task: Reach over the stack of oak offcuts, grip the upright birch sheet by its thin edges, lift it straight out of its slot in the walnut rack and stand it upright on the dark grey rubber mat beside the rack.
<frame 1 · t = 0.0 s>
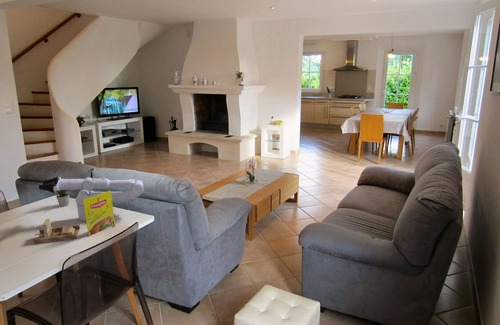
hand: (41, 184, 182), 22 cm above the table, tool horizontal, fingers open, 7 cm apart
oak offcut stack: (68, 234, 173), point 1 cm above the table, touching walnut rack
birch sheet: (48, 236, 171), point 1 cm above the table, touching walnut rack
grey rubber mat: (48, 229, 181), on the table
walnut rack: (58, 237, 172), on the table
food package: (102, 232, 177), on the table
house plant: (63, 206, 212), on the table
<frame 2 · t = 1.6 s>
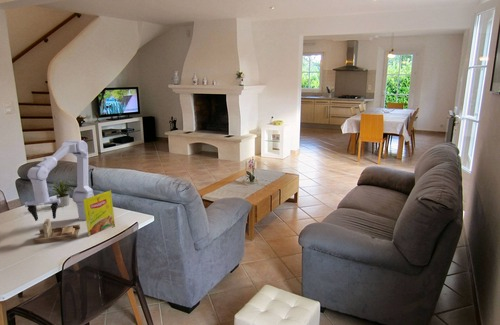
hand: (45, 218, 168), 10 cm above the table, tool pointing down, fingers open, 7 cm apart
nothing on the table moved.
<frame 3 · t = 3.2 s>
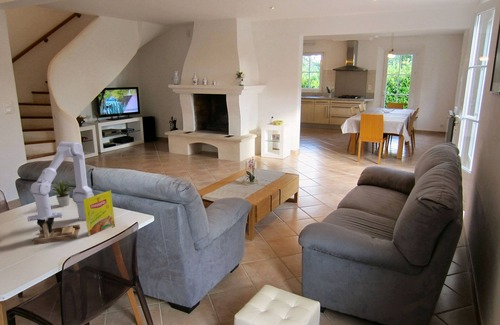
hand: (48, 232, 170), 3 cm above the table, tool pointing down, fingers closed on birch sheet, 1 cm apart
birch sheet: (48, 236, 171), point 1 cm above the table, touching gripper, walnut rack
everything else where it was.
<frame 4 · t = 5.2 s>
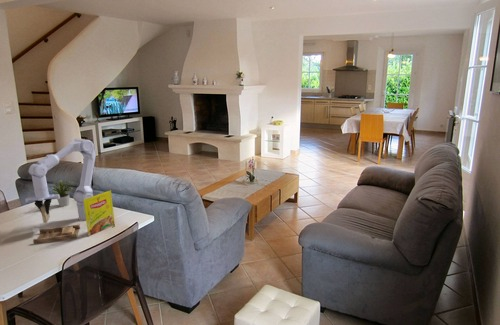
hand: (45, 213, 175), 10 cm above the table, tool pointing down, fingers closed on birch sheet
birch sheet: (46, 219, 176), point 7 cm above the table, touching gripper
everything else where it was.
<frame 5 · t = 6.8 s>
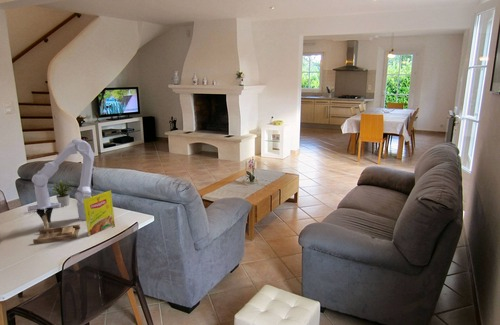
hand: (47, 222, 180), 4 cm above the table, tool pointing down, fingers closed on birch sheet, 1 cm apart
birch sheet: (48, 228, 181), point 1 cm above the table, touching grey rubber mat, gripper
everything else where it was.
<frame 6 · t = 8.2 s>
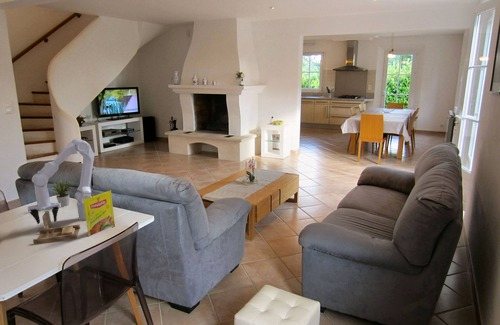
hand: (47, 222, 180), 4 cm above the table, tool pointing down, fingers open, 7 cm apart
birch sheet: (48, 228, 181), point 1 cm above the table, touching grey rubber mat
everything else where it was.
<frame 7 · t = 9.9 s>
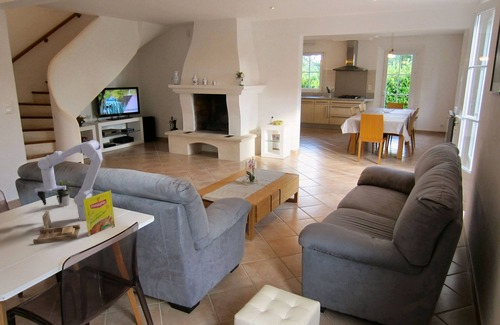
hand: (53, 203, 190), 9 cm above the table, tool pointing down, fingers open, 7 cm apart
nothing on the table moved.
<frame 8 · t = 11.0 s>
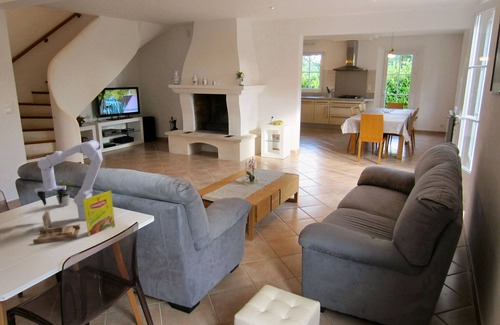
hand: (53, 203, 190), 9 cm above the table, tool pointing down, fingers open, 7 cm apart
nothing on the table moved.
at the end: birch sheet inside the target area (0.1 cm from its centre), point 0.6 cm above the table; birch sheet tilted 0°; oak offcut stack moved 0.0 cm from its start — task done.
